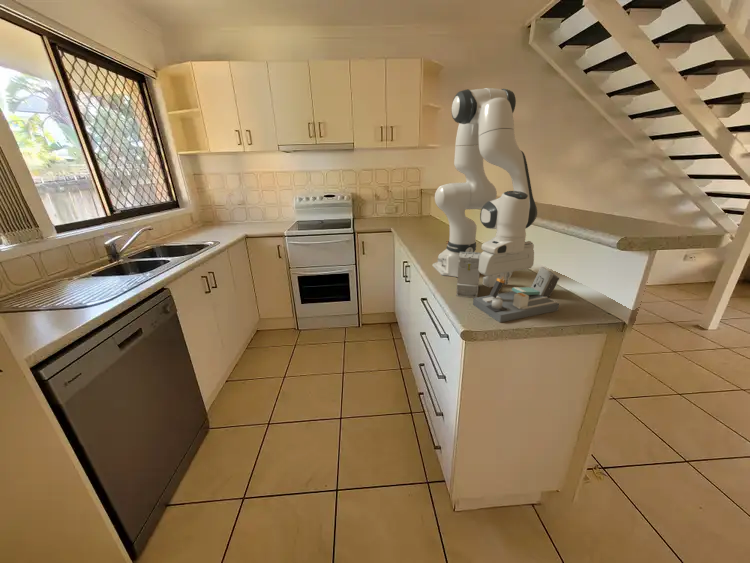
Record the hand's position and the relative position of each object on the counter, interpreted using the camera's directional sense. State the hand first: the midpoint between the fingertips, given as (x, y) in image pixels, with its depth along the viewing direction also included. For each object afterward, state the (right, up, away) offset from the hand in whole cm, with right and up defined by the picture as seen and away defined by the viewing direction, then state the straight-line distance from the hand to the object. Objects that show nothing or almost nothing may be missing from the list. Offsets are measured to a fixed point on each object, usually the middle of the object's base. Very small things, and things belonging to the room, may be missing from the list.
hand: (504, 283), depth 104 cm
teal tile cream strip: (+9, -3, +4) cm, 10 cm away
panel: (+4, -8, 0) cm, 9 cm away
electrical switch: (+19, -4, +12) cm, 23 cm away
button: (-5, -7, -5) cm, 10 cm away
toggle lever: (-4, -4, 0) cm, 6 cm away
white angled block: (+3, -1, +21) cm, 21 cm away
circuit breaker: (-8, -3, +16) cm, 18 cm away
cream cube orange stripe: (+3, -7, -4) cm, 9 cm away
